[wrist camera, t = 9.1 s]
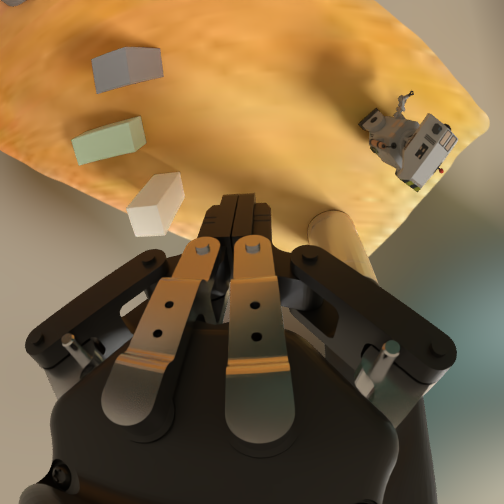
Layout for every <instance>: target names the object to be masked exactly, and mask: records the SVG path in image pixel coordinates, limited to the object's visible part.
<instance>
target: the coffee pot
mask: <svg viewBox="0 0 504 504" xmlns="http://www.w3.org/2000/svg"><path fill="white" fill-rule="evenodd" d="M1 1H3V2H4V3H6V4H7V5H9V6H12V7H14V6H17V5H20V4H22V3H23V2H25V1H26V0H1Z"/></svg>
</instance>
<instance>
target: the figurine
mask: <svg viewBox="0 0 504 504" xmlns="http://www.w3.org/2000/svg"><path fill="white" fill-rule="evenodd" d="M411 92H413V91H410V93H409V94H408V95H405V96H403V95H401V96H399V98H398V101H399V104H398V106H399V107H397V108H396V110H397V112H396V113H395V114H394V115H393V116H394V117H389V116H383V115H382V113H381V112H380V111H379V110H378V109H377V108H376V109H374V110H373V111H372V112H371V113H370V114H369V115H368V116H367V117H366V118H364V120H362V121H361V122H360V123H359V124H358V125H359V126H360V127H361V128H362V129H363V130H365V131H366V130H367V131H369V145H370V149H371V150H372V151H373V153H376V154H377V155H378V156H379V157H380V158H381V160H382V161H383V162H385V163H387V164H389V165H391V166H393V167H395V168H396V172H395V175H396V176H397V177H398V178H399V179H400V180H402V181H403V182H404V183H406V184H407V185H408V186H410V187H411V188H412V189H414V190H415V191H416V192H418V191H419V190H420V189H421V188H422V187H423V185H424V184H425V183H426V182H427V180H428V179H429V178H430V177H431V176H432V175H433V174H434V173H435V172H436V170H437V169H439V172H440V173H443V169H442V168H441V169H440V168H439V166H440V165H441V164H442V162H443V161H444V160H445V158H446V157H447V155H448V154H449V153H450V151H451V150H452V149H453V147H454V146H455V144H456V143H457V141H458V138H457V137H456V136H455V135H454V134H453V133H452V132H451V128H450V126H449V125H447V124H443V123H441V122H440V121H439V120H438V119H437V118H435V117H434V116H433V115H432V114H429V113H428V114H427V116H426V117H425V119H424V120H423V122H422V123H421V124H420V125H419V123H418V122H416V121H411V120H407V119H405V118H404V116H403V115H402V114H401V112H402V111H405V107H404V105H405V103H406V99H407V98H409V97H410V96H411V95H414V93H412V94H411Z"/></svg>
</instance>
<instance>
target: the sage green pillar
mask: <svg viewBox="0 0 504 504" xmlns="http://www.w3.org/2000/svg"><path fill="white" fill-rule="evenodd" d="M71 141H72V145H73V148H74V151H75V155H76V158H77V161H78V165H83V164H86V163H90V162H94V161H98V160H102V159H106V158H110V157H114V156H119V155H123V154H128V153H132V152H136V151H137V150H138V149H139V148H141V147H142V146H143V145H145V144H146V138H145V134H144V129H143V125H142V120H141V116H138V117H134V118H130V119H126V120H123V121H119V122H116V123H112V124H109V125H105V126H102V127H99V128H96V129H93V130H90V131H87V132H84V133H83V134H81V135H79V136H77V137H75V138H74V139H72V140H71Z"/></svg>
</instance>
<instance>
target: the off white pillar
mask: <svg viewBox="0 0 504 504" xmlns="http://www.w3.org/2000/svg"><path fill="white" fill-rule="evenodd" d="M184 198H185V195H184V190H183V185H182V180H181V175H180V172H173V173H164V174H156V175H153V176H152V177H151V179H150V180H149V181H148V182H147V183H146V185H145V186H144V187H143V188H142V189H141V191H140V192H139V193H138V194H137V195H136V197H135V198H134V199H133V200H132V202H131V203H130V204H129V205H128V207H127V208H126V209H127V212H128V216H129V218H130V221H131V224H132V227H133V230H134V233H135V236H136V237H141V236H159V235H166V233H167V231H168V229H169V227H170V225H171V223H172V221H173V219H174V217H175V215H176V213H177V211H178V209H179V207H180V205H181V204H182V202H183V200H184Z"/></svg>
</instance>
